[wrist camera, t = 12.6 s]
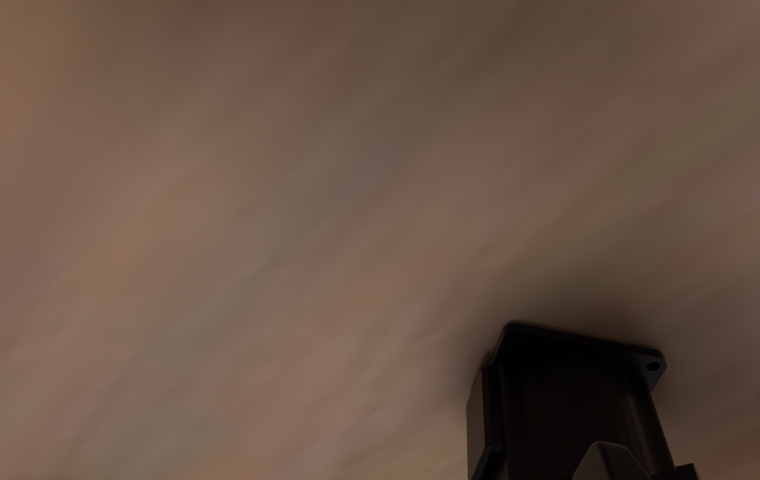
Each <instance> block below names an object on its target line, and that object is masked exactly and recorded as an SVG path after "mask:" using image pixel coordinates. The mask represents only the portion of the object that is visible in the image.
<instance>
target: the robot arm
mask: <svg viewBox="0 0 760 480" xmlns="http://www.w3.org/2000/svg"><path fill="white" fill-rule="evenodd" d="M512 336H519V337H517V338H512ZM651 362H654V363H652V364H649V363H651ZM666 367H667V364H666V361H665V358H664V356H663V354H662V353H661V352H659V351H656V350H652V349H647V348H641V347H636V346H631V345H626V344H620V343H615V342H610V341H605V340H599V339H594V338H589V337H584V336H578V335H573V334H568V333H563V332H557V331H552V330H547V329H542V328H536V327H531V326H526V325H521V324H511V325H508V326H506V327H505V328H504V329H503V331H502V333H501V335H500V338H499V341H498V343H497V346H496V348H495V351H494V353H493V356H492V359H491V361H490V364H485V365H484V366H482V367H481V368H480V371H479V373H478V376H477V379H476V381H475V384H474V386H473V389H472V392H471V394H470V397H469V400H468V402H467V406H466V411H467V455H468V480H701V479H700V477H699V474H698V472H697V470H696V468H695V466H694V464H693V463H690V464H686V465H682V466H677V467H676V468H675V465H674V462H673V459H672V456H671V453H670V450H669V447H668V444H667V441H666V438H665V435H664V432H663V429H662V426H661V423H660V420H659V417H658V414H657V411H656V408H655V405H654V402H653V399H652V396H651V391H652V390H653V388H654V387H655V385H656V383H657V382H658V380H659V379H660V377H661V376H662V374H663V372H664V371H665V369H666Z"/></svg>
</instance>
